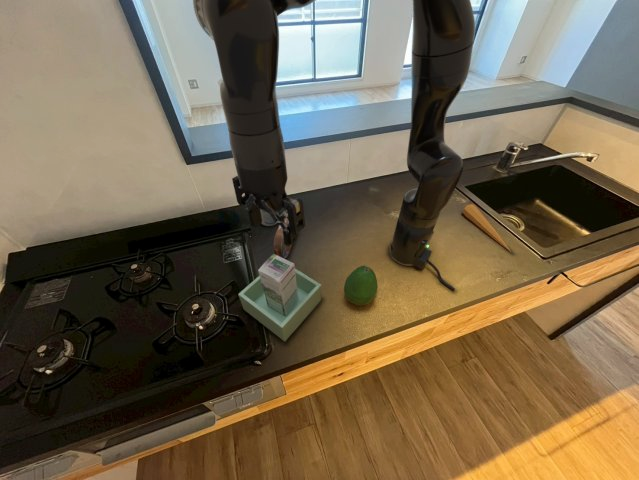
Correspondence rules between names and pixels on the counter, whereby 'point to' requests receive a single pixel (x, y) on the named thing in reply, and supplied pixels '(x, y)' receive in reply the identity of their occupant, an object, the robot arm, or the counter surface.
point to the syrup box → (279, 284)
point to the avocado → (361, 286)
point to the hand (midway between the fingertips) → (273, 233)
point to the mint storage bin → (274, 320)
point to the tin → (281, 243)
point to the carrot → (482, 223)
